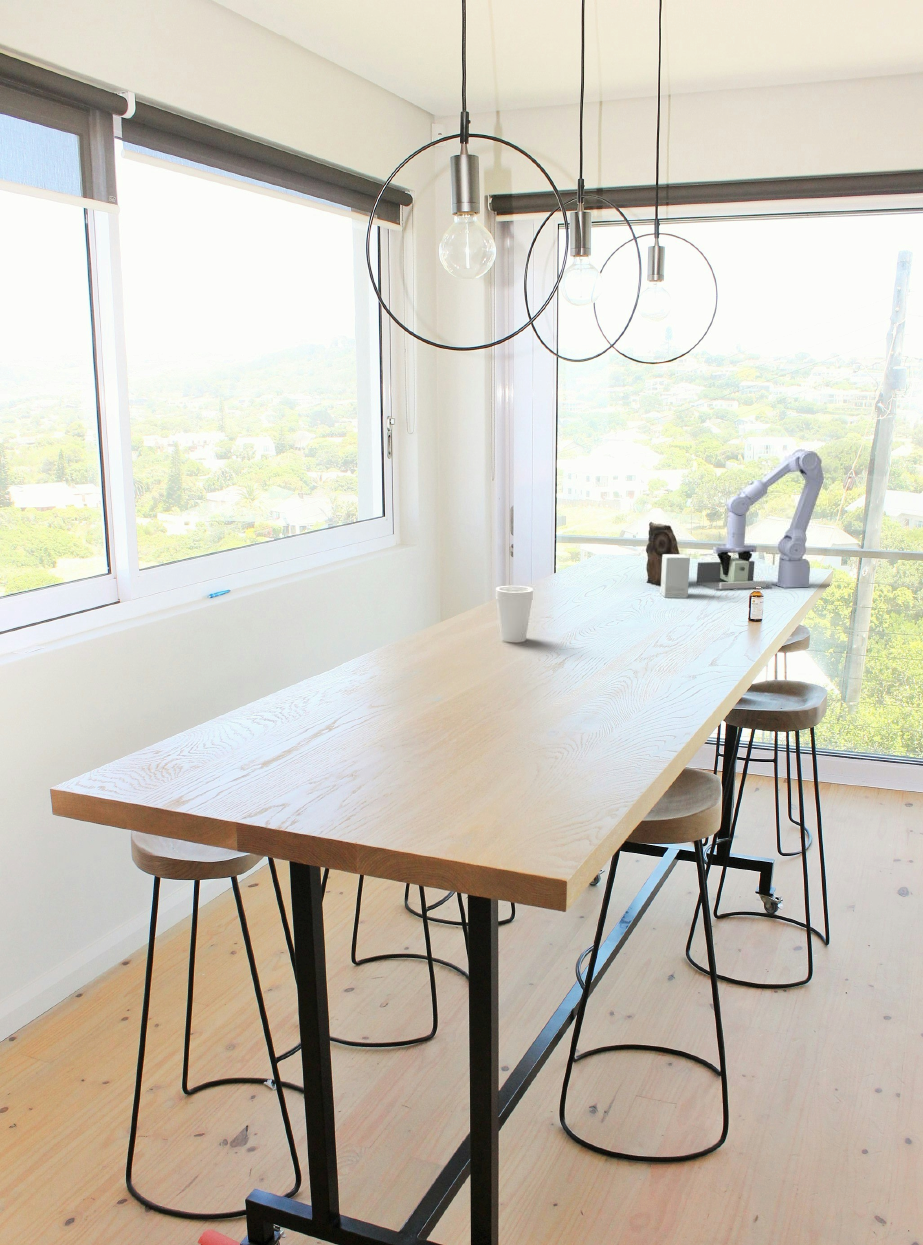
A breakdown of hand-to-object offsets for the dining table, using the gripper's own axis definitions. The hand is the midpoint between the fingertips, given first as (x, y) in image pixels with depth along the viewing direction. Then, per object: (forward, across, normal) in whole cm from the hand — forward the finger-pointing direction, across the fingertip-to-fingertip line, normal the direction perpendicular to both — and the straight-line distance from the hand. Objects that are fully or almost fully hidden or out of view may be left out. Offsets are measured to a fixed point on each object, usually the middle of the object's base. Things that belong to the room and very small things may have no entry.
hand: (733, 574), depth 334 cm
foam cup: (+4, -93, -57) cm, 109 cm away
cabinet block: (+2, 0, 0) cm, 2 cm away
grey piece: (+4, 0, -1) cm, 4 cm away
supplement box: (+4, -27, -12) cm, 30 cm away
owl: (+4, -20, +8) cm, 22 cm away
